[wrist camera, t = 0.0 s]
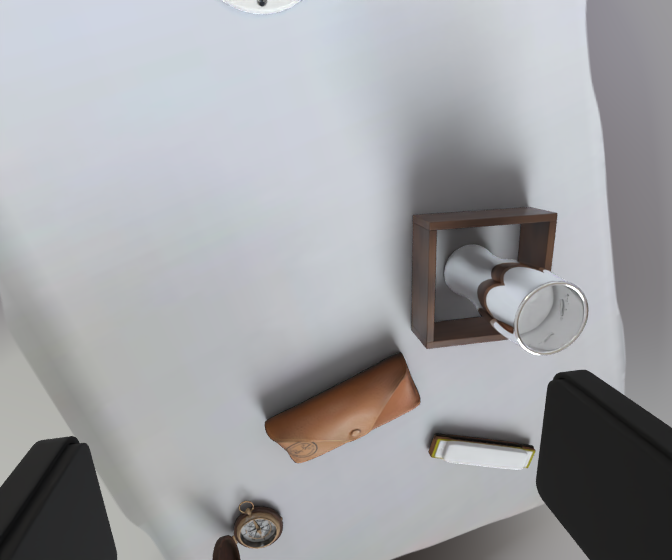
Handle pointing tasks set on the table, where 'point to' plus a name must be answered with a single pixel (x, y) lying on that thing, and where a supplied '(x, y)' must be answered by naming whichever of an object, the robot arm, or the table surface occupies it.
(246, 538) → the compass
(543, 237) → the crate
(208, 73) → the table surface
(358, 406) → the sunglasses case
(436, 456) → the harmonica
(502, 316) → the beer glass
